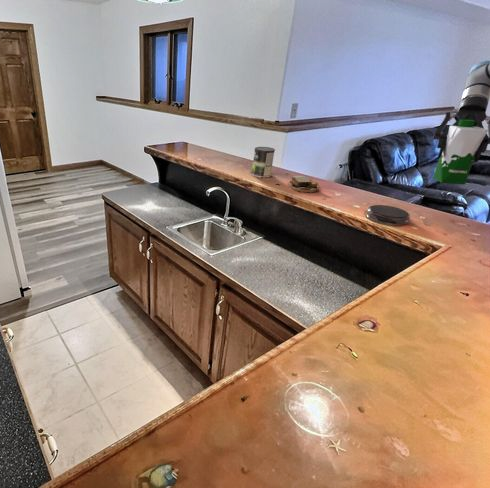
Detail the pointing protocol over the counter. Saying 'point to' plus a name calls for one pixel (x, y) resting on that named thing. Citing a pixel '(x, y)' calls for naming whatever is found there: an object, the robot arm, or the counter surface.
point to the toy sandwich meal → (303, 184)
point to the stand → (387, 215)
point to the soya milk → (459, 152)
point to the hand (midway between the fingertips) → (458, 157)
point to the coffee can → (262, 162)
